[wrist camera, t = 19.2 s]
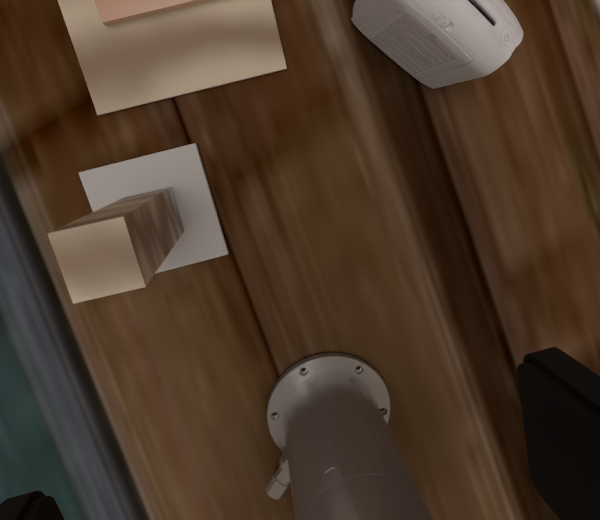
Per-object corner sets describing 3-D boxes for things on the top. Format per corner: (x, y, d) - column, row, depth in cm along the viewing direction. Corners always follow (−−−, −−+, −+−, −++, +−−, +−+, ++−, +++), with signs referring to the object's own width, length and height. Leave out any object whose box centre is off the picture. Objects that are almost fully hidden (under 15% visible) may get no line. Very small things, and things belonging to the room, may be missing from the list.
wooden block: (184, 231, 41) (145, 286, 26) (139, 241, 41) (73, 303, 25) (171, 186, 40) (123, 216, 25) (125, 196, 40) (47, 233, 24)
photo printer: (463, 55, 41) (552, 21, 29) (433, 97, 41) (507, 81, 29) (372, -25, 38) (427, -99, 26) (341, 21, 39) (381, -31, 27)
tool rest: (228, 252, 43) (228, 254, 42) (121, 280, 42) (119, 282, 42) (196, 143, 40) (195, 143, 39) (81, 171, 40) (78, 172, 39)
